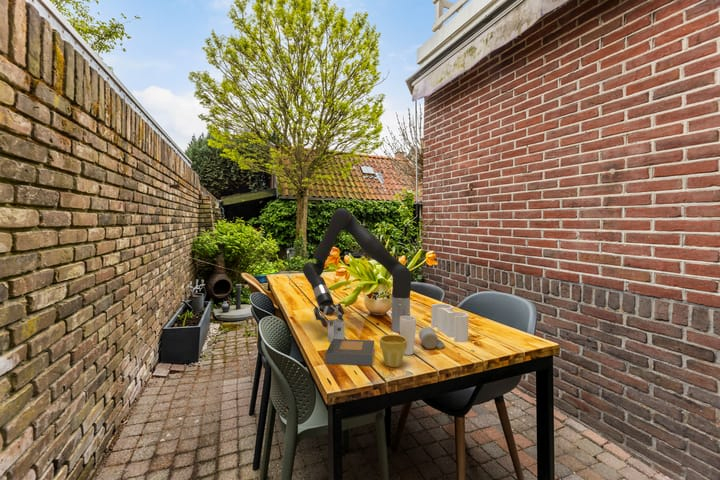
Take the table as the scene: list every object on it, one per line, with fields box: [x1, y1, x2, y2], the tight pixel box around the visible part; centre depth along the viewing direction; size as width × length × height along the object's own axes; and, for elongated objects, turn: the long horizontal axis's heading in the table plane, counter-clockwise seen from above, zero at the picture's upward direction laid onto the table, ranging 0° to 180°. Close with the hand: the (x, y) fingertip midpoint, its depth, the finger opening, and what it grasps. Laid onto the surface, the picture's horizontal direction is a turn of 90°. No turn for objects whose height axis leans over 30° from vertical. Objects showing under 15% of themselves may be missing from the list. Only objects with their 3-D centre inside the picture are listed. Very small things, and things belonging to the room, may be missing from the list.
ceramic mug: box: [418, 326, 446, 350], centre depth 141 cm, size 11×8×8 cm
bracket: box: [430, 303, 470, 343], centre depth 159 cm, size 25×10×12 cm, turn 14°
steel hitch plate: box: [324, 338, 375, 367], centre depth 130 cm, size 18×16×4 cm
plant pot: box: [379, 334, 407, 368], centre depth 123 cm, size 10×10×10 cm
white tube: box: [399, 315, 417, 356], centre depth 134 cm, size 7×7×15 cm
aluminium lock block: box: [327, 318, 346, 343], centre depth 147 cm, size 6×6×10 cm
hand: (334, 325), depth 148 cm, fingers open, 8 cm apart
